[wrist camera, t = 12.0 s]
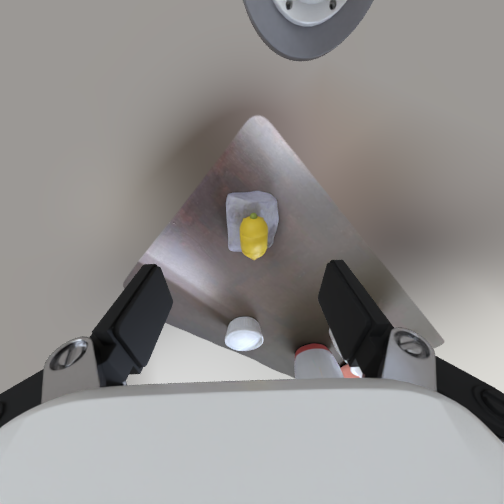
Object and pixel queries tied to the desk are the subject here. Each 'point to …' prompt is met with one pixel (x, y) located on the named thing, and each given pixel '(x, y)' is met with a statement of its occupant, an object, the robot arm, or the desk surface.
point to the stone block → (243, 207)
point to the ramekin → (244, 334)
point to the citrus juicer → (316, 363)
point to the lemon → (253, 236)
